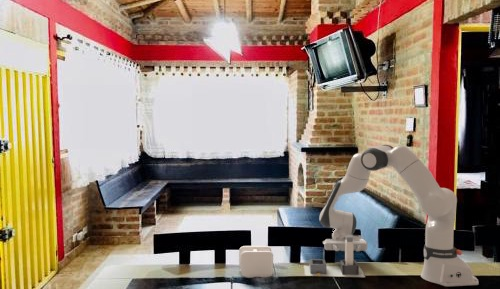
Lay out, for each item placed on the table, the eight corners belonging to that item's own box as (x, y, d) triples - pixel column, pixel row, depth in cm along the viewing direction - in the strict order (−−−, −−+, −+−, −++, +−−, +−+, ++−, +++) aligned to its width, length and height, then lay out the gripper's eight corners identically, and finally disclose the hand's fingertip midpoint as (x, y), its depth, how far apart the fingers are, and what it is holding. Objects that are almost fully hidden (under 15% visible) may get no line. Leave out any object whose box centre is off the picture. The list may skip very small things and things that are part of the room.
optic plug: (351, 270, 187) (351, 235, 186) (353, 273, 183) (353, 237, 182) (345, 269, 187) (345, 235, 187) (346, 273, 183) (346, 237, 183)
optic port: (324, 267, 190) (324, 259, 190) (326, 274, 182) (326, 265, 182) (309, 267, 191) (309, 259, 190) (310, 273, 183) (310, 264, 182)
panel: (359, 269, 191) (359, 258, 191) (365, 279, 178) (365, 268, 178) (303, 267, 193) (303, 257, 193) (305, 277, 180) (305, 266, 180)
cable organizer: (239, 278, 180) (239, 252, 180) (239, 269, 191) (239, 245, 190) (273, 277, 181) (273, 251, 180) (271, 269, 191) (271, 244, 191)
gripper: (322, 234, 205) (324, 242, 191) (364, 235, 203) (369, 243, 189) (322, 247, 205) (324, 256, 191) (364, 248, 203) (369, 256, 189)
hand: (347, 249), depth 190 cm, fingers open, 8 cm apart
